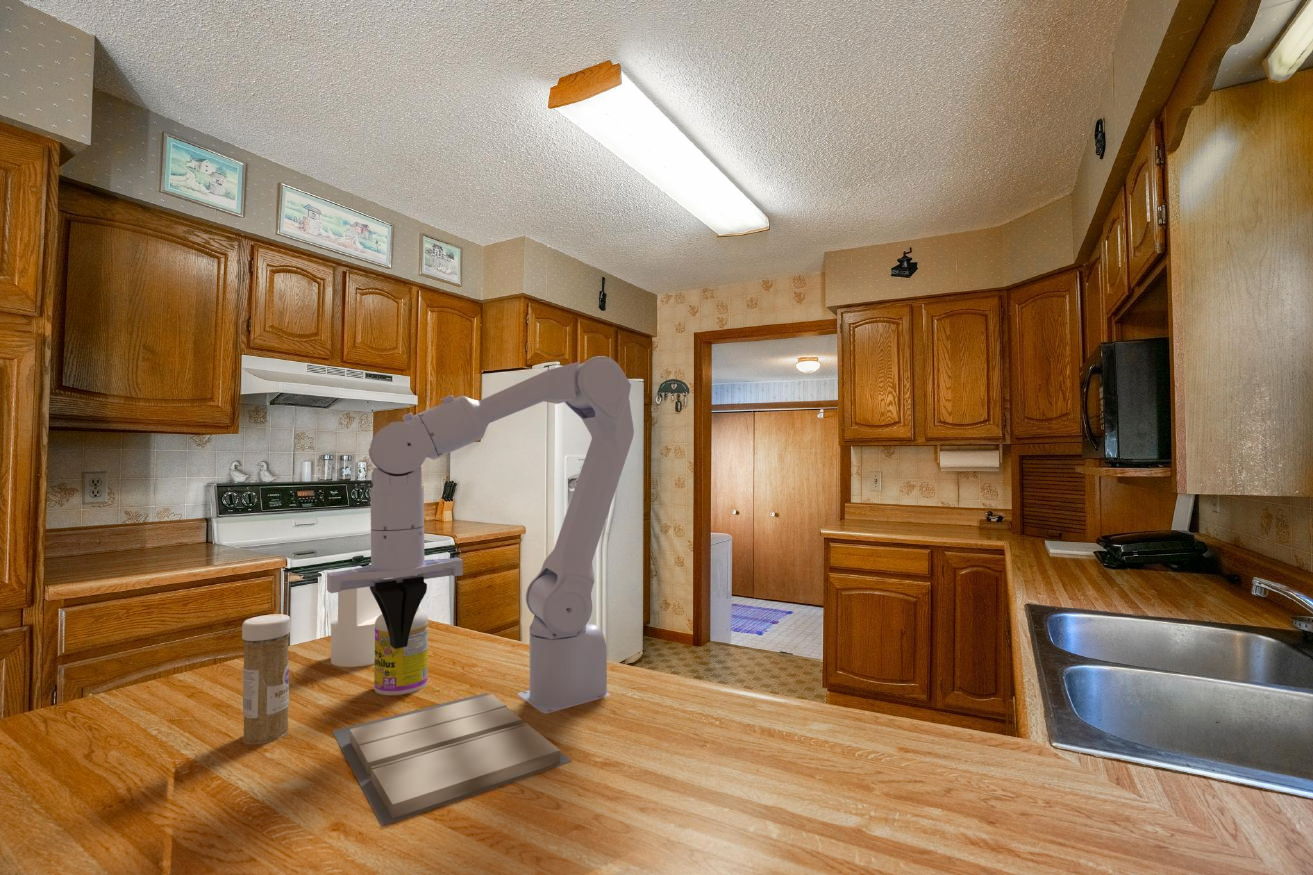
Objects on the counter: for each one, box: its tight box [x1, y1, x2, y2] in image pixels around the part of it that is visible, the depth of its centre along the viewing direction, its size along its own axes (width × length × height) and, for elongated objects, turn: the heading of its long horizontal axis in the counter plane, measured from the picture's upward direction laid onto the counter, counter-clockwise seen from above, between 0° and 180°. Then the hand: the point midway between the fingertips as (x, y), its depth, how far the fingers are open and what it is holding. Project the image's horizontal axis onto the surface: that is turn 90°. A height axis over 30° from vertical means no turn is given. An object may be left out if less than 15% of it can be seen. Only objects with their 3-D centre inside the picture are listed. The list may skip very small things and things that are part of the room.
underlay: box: [331, 692, 572, 827], centre depth 67 cm, size 18×22×1 cm
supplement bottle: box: [373, 606, 429, 696], centre depth 84 cm, size 7×7×13 cm
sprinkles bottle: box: [241, 613, 291, 745], centre depth 70 cm, size 5×5×14 cm
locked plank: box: [371, 722, 561, 818], centre depth 61 cm, size 16×8×1 cm, turn 127°
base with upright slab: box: [330, 578, 388, 668], centre depth 98 cm, size 9×9×12 cm
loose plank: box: [350, 693, 523, 775], centre depth 69 cm, size 16×8×1 cm, turn 127°
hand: (398, 645), depth 72 cm, fingers closed
